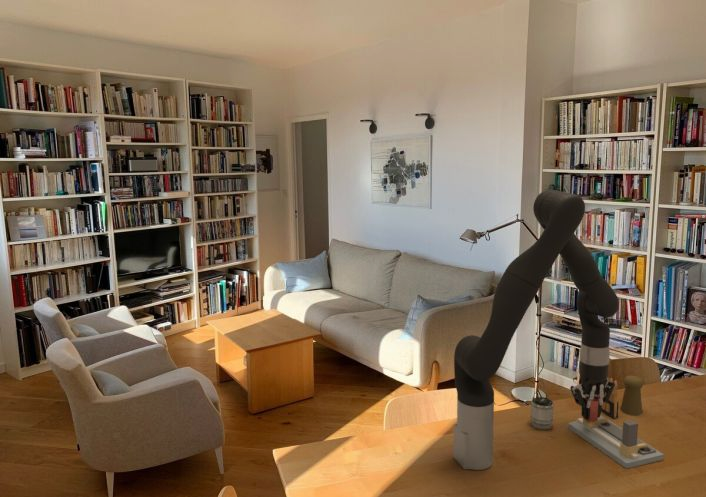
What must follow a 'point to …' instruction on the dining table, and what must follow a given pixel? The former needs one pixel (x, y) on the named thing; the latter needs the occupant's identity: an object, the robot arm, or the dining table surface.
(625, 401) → the olive pepper mill
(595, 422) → the red slider with pointer
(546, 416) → the camera lens
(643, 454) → the grey slider track base
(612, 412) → the ammunition clip
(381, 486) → the dining table surface
